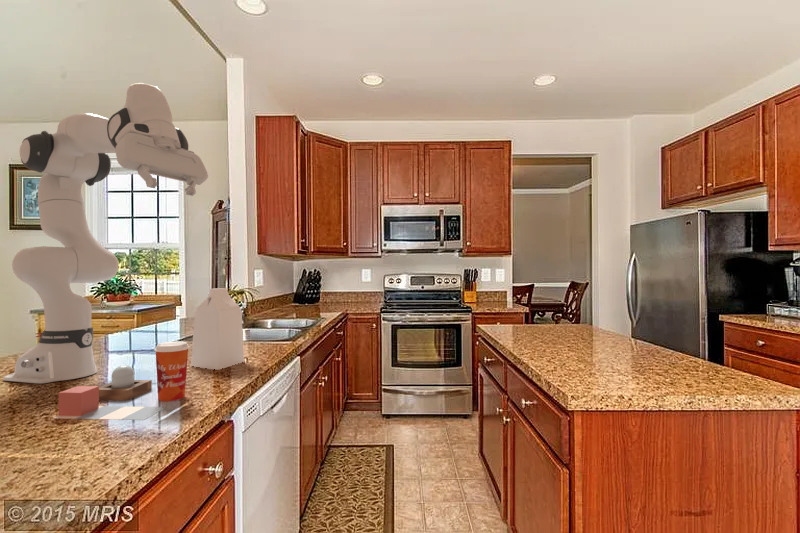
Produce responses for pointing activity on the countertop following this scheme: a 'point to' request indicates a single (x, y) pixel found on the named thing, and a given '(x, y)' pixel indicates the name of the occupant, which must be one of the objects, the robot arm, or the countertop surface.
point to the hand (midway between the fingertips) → (172, 190)
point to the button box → (124, 390)
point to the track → (118, 413)
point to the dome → (123, 377)
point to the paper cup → (171, 370)
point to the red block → (78, 400)
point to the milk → (217, 332)
